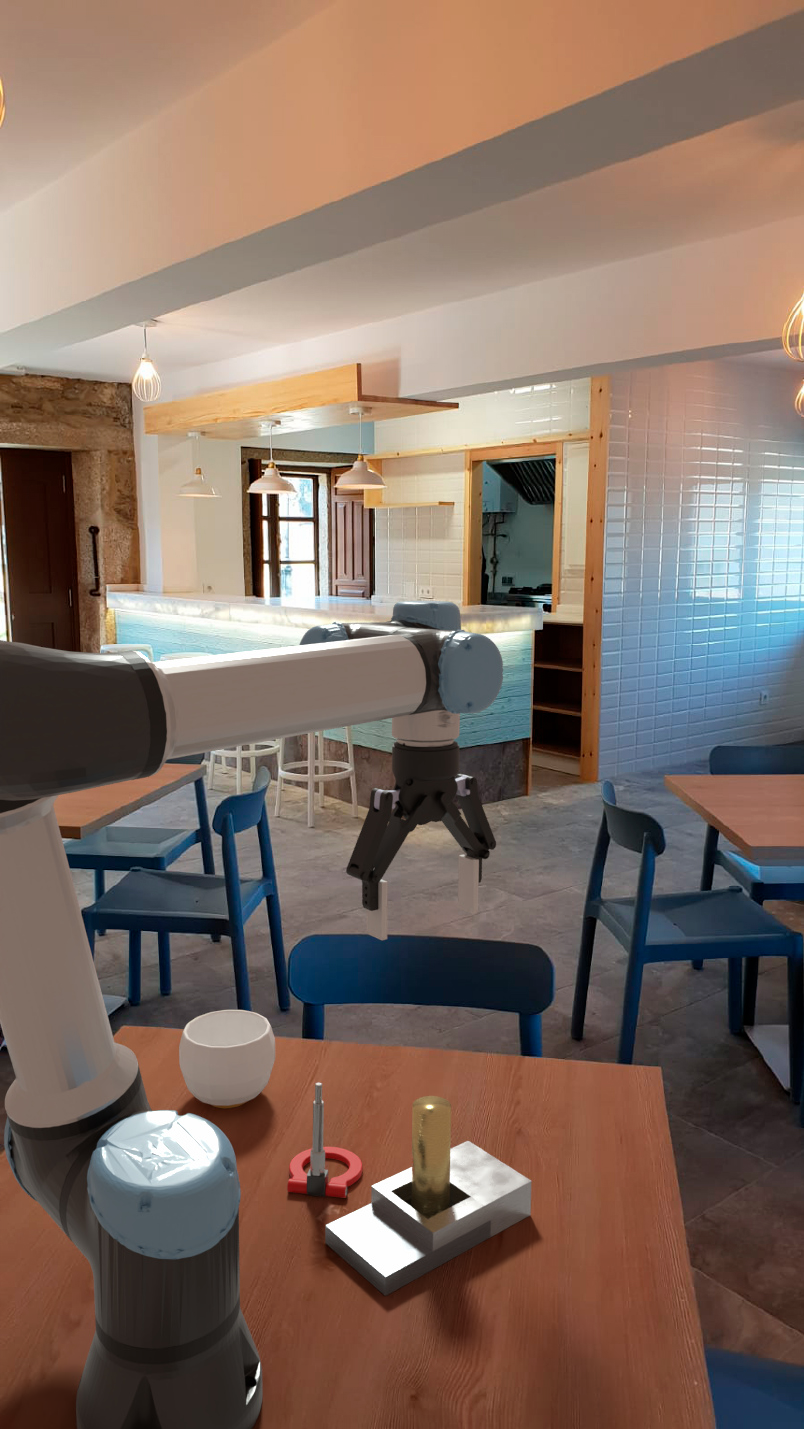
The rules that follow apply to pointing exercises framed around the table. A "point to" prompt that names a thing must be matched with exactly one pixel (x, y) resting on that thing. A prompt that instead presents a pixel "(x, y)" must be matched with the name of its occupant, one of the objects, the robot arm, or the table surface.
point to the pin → (431, 1155)
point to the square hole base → (429, 1220)
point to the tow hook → (322, 1162)
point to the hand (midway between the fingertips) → (424, 923)
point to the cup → (227, 1056)
